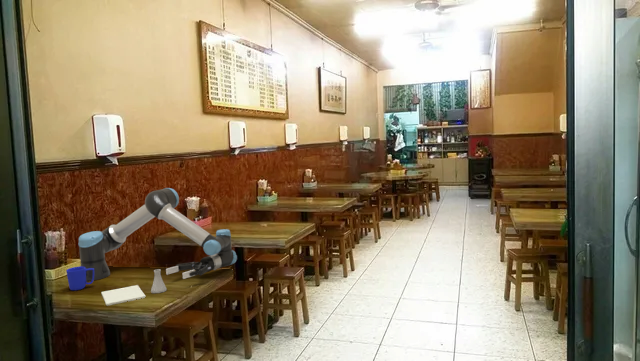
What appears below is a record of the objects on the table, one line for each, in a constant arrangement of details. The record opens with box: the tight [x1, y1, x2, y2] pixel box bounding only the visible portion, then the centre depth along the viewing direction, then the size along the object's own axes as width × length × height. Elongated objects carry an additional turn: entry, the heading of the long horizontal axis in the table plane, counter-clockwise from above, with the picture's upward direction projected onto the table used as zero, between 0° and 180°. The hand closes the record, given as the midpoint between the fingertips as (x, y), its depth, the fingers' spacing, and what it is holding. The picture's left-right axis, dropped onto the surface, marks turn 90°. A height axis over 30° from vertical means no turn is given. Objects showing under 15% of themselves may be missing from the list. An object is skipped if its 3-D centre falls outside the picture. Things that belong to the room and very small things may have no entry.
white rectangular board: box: [101, 284, 146, 307], centre depth 209 cm, size 20×16×1 cm
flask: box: [150, 268, 168, 294], centre depth 213 cm, size 7×7×10 cm
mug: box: [66, 266, 95, 291], centre depth 224 cm, size 8×12×10 cm
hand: (174, 273), depth 220 cm, fingers open, 13 cm apart
